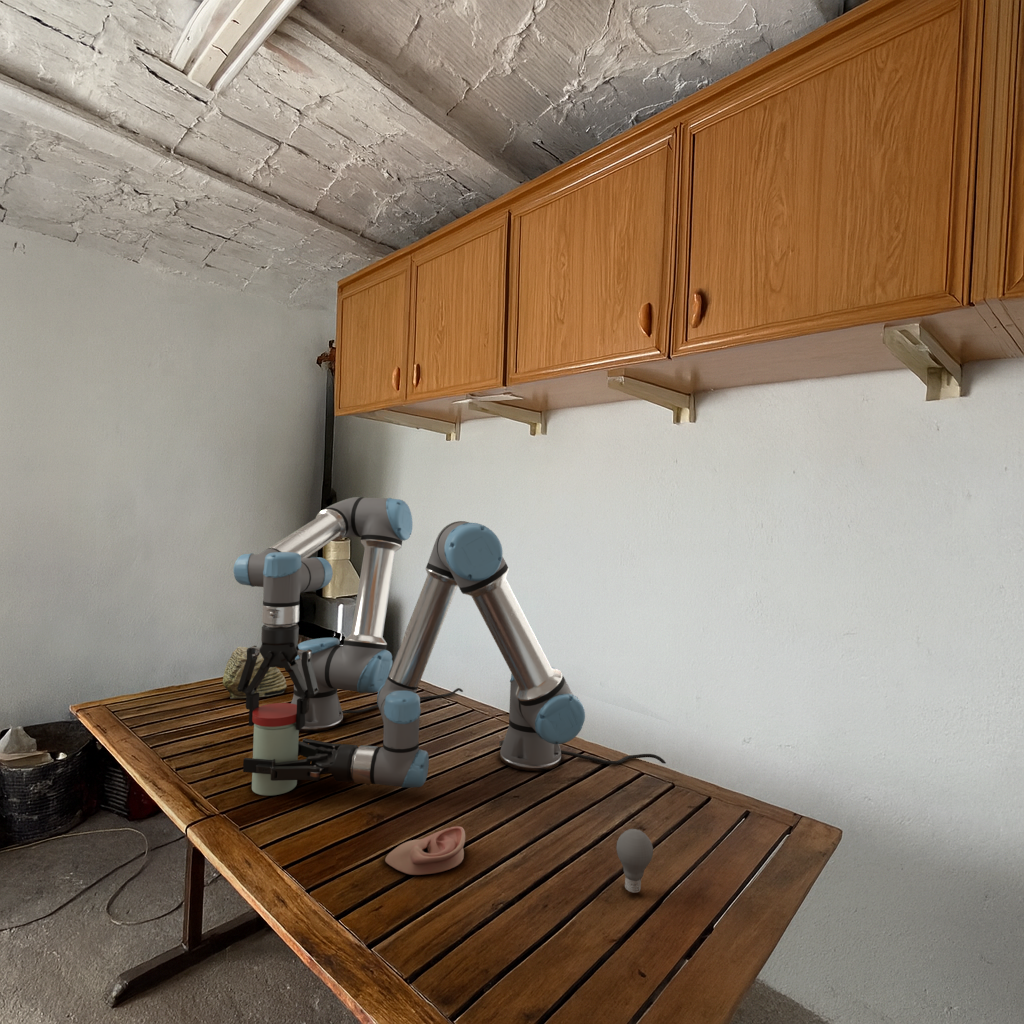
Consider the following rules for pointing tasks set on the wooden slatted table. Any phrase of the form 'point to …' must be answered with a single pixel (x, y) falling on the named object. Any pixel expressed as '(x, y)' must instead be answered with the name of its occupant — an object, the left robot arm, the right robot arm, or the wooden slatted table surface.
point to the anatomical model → (429, 853)
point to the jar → (274, 756)
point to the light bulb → (634, 857)
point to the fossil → (233, 671)
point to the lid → (275, 714)
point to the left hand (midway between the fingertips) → (276, 725)
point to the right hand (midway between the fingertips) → (255, 755)
